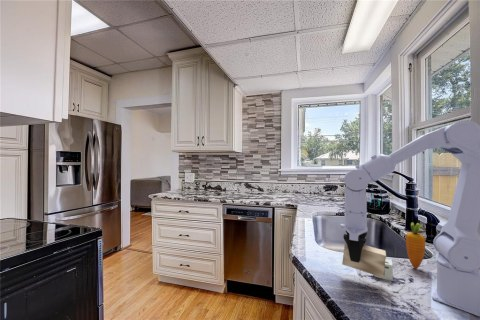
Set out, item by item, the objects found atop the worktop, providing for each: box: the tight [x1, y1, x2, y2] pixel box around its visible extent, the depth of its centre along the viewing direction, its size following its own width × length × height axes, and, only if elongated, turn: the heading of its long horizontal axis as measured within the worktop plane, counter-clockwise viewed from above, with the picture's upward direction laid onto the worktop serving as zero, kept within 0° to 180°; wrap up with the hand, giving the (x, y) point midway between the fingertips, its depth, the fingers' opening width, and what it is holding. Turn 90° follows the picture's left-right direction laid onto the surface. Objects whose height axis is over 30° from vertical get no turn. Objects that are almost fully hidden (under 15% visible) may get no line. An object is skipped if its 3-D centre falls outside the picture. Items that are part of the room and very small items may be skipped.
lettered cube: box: [374, 258, 394, 281], centre depth 67 cm, size 4×5×5 cm
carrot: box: [405, 222, 426, 270], centre depth 71 cm, size 5×5×15 cm
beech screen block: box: [341, 241, 387, 279], centre depth 63 cm, size 10×4×6 cm, turn 59°
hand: (355, 258), depth 64 cm, fingers closed on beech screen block, 4 cm apart
